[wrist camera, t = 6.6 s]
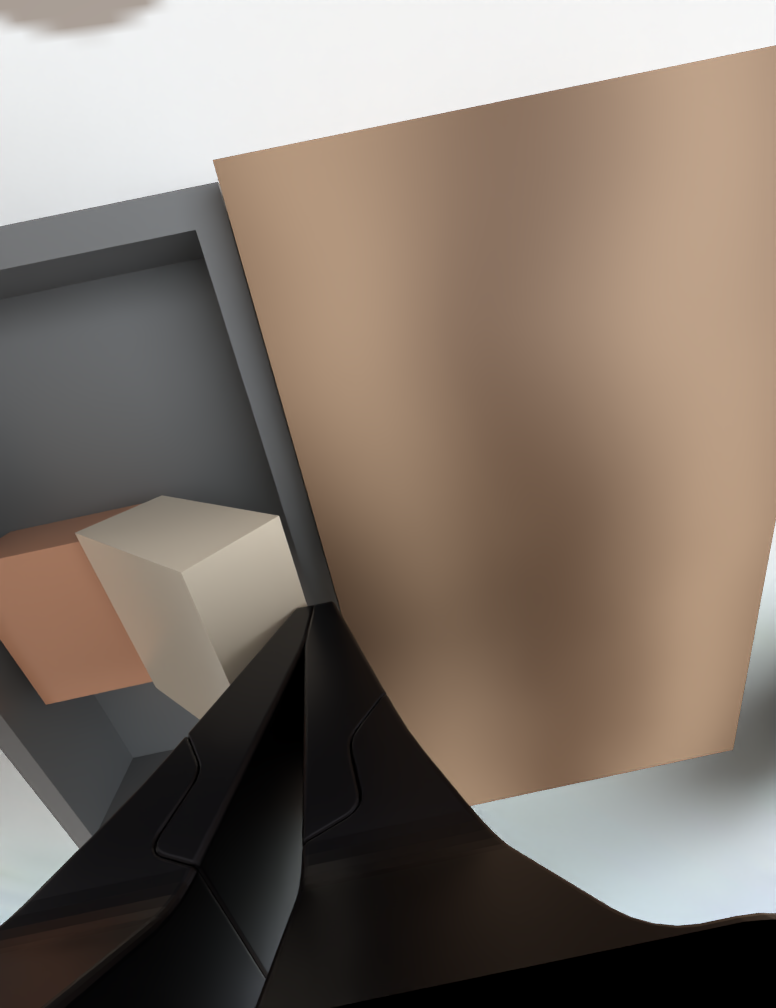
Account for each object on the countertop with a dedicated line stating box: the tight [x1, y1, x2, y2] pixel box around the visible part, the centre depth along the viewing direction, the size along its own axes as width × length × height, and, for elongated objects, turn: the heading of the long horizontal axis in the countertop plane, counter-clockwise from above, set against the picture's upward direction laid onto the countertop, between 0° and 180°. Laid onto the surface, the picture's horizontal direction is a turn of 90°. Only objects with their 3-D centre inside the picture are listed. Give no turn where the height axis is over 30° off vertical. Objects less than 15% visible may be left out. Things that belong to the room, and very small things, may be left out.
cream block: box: [75, 495, 307, 719], centre depth 10 cm, size 4×4×2 cm
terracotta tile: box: [0, 503, 153, 705], centre depth 12 cm, size 4×4×2 cm
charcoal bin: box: [0, 182, 342, 849], centre depth 12 cm, size 10×16×3 cm, turn 11°
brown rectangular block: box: [213, 45, 776, 806], centre depth 12 cm, size 10×16×4 cm, turn 11°
